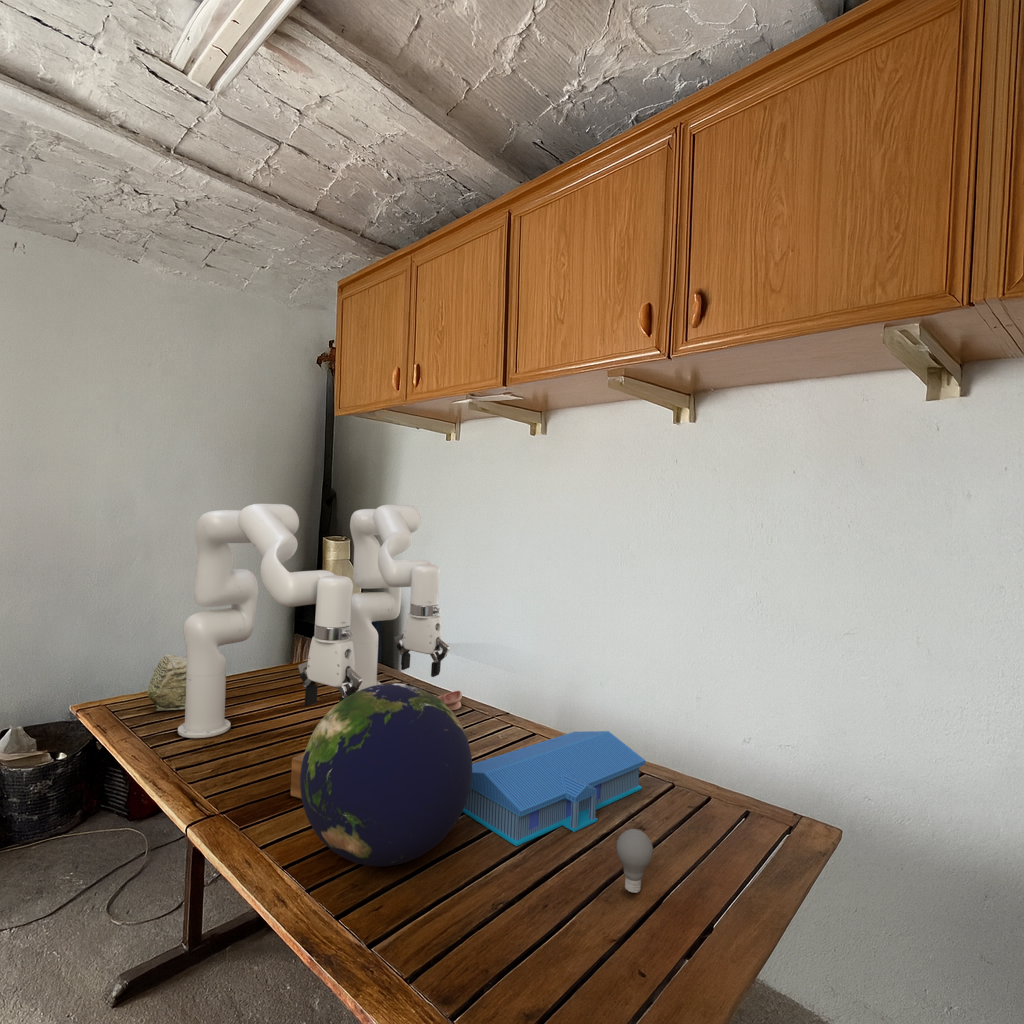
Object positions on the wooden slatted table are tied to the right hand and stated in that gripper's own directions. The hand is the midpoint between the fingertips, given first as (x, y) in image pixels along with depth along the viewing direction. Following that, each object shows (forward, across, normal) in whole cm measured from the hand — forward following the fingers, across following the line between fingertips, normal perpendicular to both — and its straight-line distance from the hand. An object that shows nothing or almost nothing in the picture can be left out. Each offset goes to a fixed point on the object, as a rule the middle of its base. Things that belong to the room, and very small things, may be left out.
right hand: (420, 672), depth 172 cm
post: (+16, -1, +18) cm, 25 cm away
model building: (+15, -47, +17) cm, 52 cm away
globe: (+14, -29, +52) cm, 62 cm away
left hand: (-1, 0, +36) cm, 36 cm away
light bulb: (+13, -71, +40) cm, 83 cm away
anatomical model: (+17, +6, -21) cm, 28 cm away
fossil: (+19, +68, +20) cm, 73 cm away
